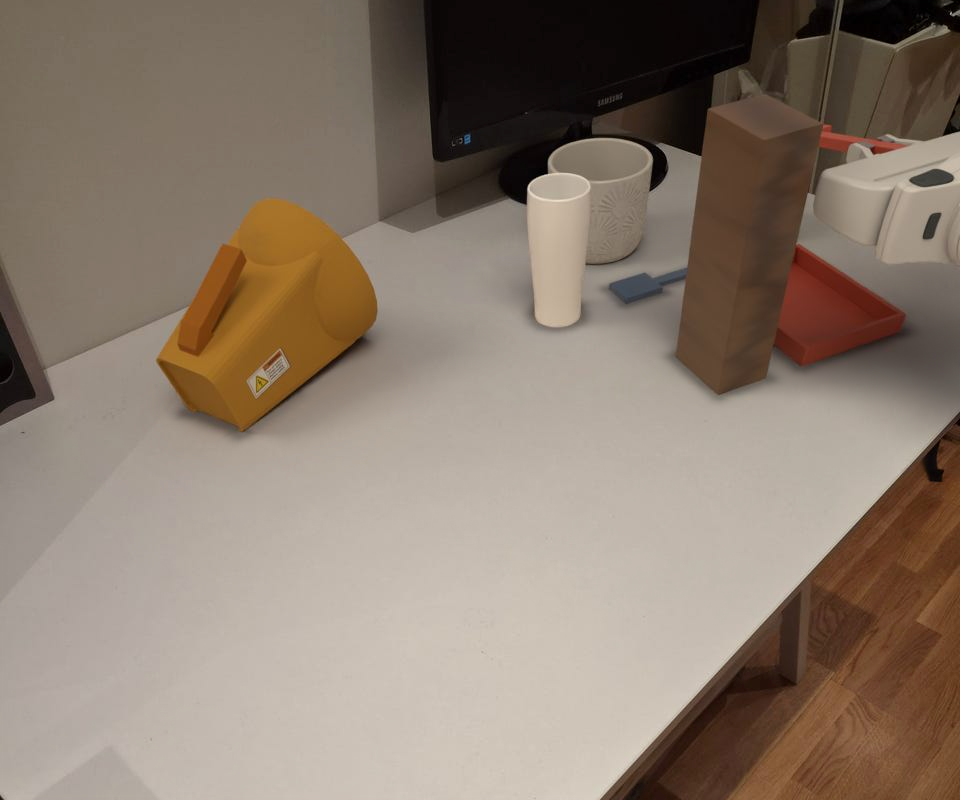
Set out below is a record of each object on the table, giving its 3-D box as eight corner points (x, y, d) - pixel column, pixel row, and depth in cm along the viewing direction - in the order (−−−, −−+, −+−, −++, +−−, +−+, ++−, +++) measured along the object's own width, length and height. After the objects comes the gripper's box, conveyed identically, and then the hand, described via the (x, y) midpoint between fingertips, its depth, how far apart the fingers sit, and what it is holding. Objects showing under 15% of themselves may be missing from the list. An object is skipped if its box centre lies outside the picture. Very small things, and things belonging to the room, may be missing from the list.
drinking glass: (596, 325, 100) (603, 191, 88) (543, 340, 99) (542, 206, 87) (571, 298, 104) (574, 166, 92) (519, 312, 103) (516, 180, 91)
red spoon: (797, 133, 92) (798, 120, 91) (922, 154, 79) (924, 140, 78) (766, 142, 91) (767, 129, 90) (887, 165, 78) (889, 151, 78)
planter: (638, 276, 106) (646, 184, 98) (539, 270, 109) (538, 179, 100) (650, 228, 114) (658, 138, 105) (557, 223, 116) (557, 135, 108)
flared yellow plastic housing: (285, 310, 106) (221, 177, 90) (396, 347, 99) (346, 211, 84) (183, 428, 100) (95, 308, 84) (293, 476, 93) (220, 355, 78)
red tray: (794, 264, 106) (798, 243, 104) (899, 335, 95) (906, 313, 93) (702, 293, 103) (705, 272, 101) (800, 370, 92) (805, 348, 90)
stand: (720, 345, 96) (764, 93, 77) (765, 382, 91) (823, 123, 72) (674, 361, 95) (707, 108, 75) (717, 399, 90) (763, 140, 71)
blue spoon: (608, 292, 104) (609, 283, 103) (727, 255, 108) (728, 246, 107) (625, 308, 102) (626, 298, 101) (746, 269, 106) (748, 260, 105)
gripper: (1084, 137, 74) (962, 87, 82) (893, 194, 69) (784, 135, 77) (1050, 212, 79) (939, 157, 87) (870, 270, 74) (770, 207, 82)
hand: (865, 147), depth 82 cm, fingers closed on red spoon, 1 cm apart
